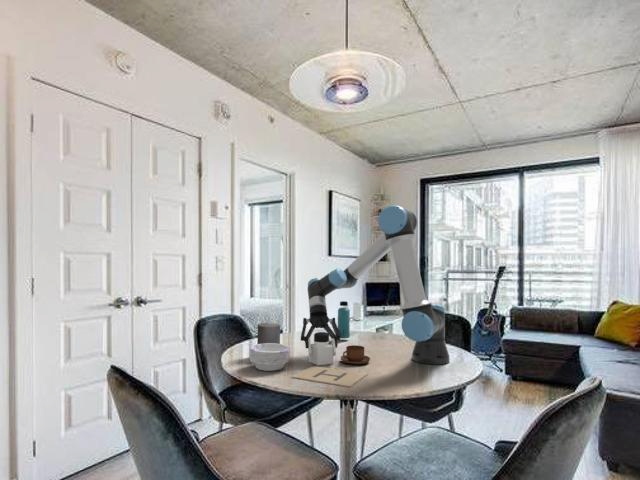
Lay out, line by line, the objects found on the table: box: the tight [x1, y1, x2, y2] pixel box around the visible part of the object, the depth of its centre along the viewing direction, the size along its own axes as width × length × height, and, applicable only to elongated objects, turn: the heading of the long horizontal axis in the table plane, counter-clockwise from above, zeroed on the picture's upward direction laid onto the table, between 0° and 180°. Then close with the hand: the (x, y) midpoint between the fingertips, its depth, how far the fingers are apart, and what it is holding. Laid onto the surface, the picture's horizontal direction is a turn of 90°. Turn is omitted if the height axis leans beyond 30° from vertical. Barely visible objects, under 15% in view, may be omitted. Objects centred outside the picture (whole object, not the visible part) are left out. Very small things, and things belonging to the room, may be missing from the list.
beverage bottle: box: [337, 300, 351, 339], centre depth 205 cm, size 6×7×20 cm
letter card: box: [291, 365, 368, 388], centre depth 140 cm, size 22×16×1 cm
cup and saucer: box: [340, 344, 371, 365], centre depth 160 cm, size 12×12×6 cm
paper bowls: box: [249, 343, 291, 372], centre depth 151 cm, size 15×15×8 cm
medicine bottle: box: [309, 331, 334, 367], centre depth 159 cm, size 7×7×12 cm
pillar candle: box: [256, 322, 281, 345], centre depth 168 cm, size 10×10×15 cm
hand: (322, 354), depth 155 cm, fingers closed on medicine bottle, 9 cm apart
